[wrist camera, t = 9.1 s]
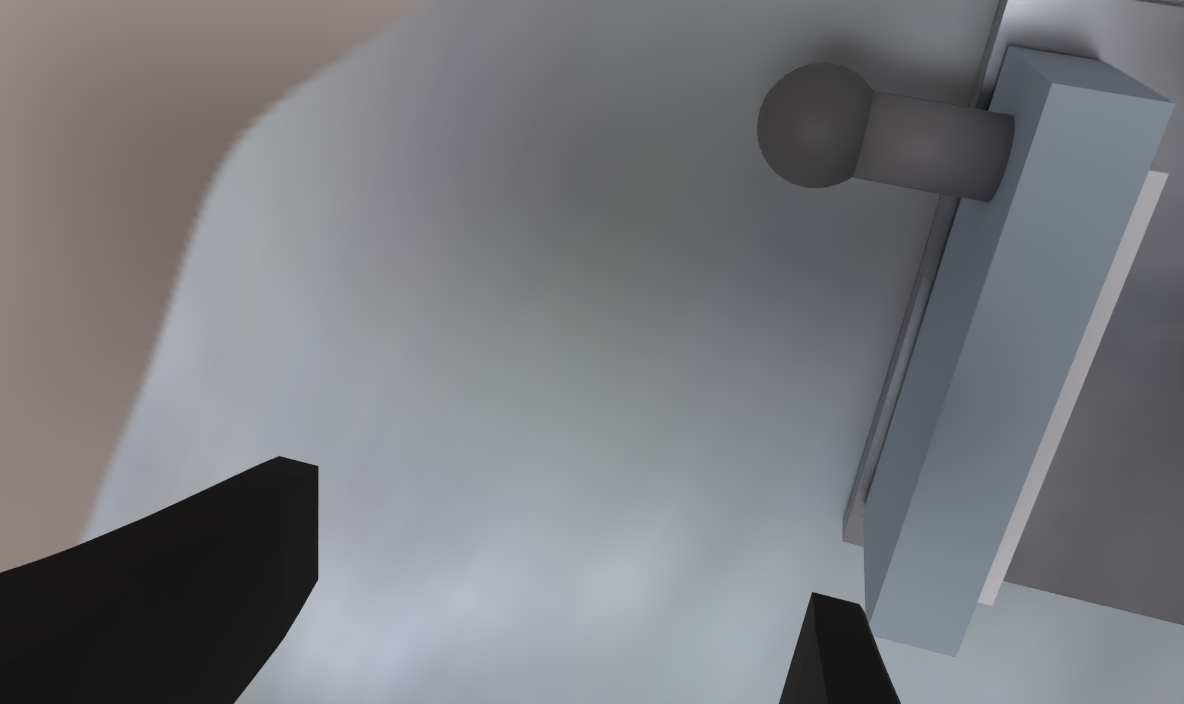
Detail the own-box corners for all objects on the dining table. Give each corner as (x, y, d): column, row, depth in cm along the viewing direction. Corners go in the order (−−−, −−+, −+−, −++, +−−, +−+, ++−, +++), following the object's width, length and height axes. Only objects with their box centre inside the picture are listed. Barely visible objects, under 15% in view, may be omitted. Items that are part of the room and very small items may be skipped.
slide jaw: (1129, 65, 16) (1207, 108, 13) (955, 534, 21) (977, 663, 17) (785, 9, 17) (769, 36, 14) (689, 471, 22) (659, 580, 18)
